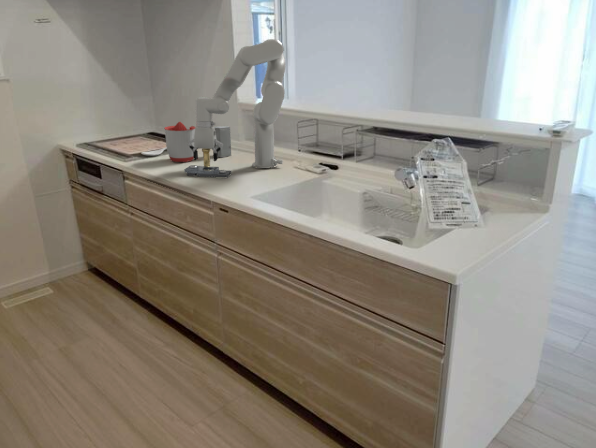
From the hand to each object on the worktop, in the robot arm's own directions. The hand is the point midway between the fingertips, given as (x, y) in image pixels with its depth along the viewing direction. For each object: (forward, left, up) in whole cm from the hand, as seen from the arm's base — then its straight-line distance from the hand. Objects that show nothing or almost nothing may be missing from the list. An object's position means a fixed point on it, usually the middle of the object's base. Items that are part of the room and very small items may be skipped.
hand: (205, 160), depth 237 cm
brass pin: (0, 0, -5) cm, 5 cm away
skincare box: (+2, -31, -5) cm, 32 cm away
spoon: (+33, -32, -5) cm, 47 cm away
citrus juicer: (+19, -17, -5) cm, 26 cm away
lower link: (-7, +10, -5) cm, 13 cm away
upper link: (-1, +10, -5) cm, 11 cm away
